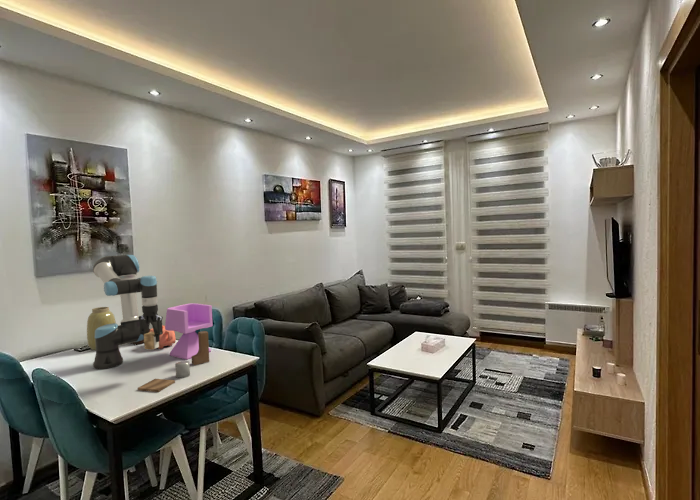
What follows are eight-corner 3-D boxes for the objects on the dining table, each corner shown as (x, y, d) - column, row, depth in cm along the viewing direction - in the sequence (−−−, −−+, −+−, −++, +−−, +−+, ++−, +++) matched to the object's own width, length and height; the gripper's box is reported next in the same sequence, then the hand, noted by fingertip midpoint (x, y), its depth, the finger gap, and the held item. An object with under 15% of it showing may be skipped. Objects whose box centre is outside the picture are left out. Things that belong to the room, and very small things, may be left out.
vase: (107, 351, 259) (105, 310, 257) (81, 351, 259) (79, 311, 258) (122, 343, 276) (120, 305, 275) (98, 343, 276) (96, 305, 275)
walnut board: (137, 390, 194) (137, 387, 194) (155, 380, 206) (155, 378, 206) (158, 392, 191) (158, 389, 191) (174, 382, 203) (174, 380, 203)
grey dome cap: (173, 377, 210) (172, 365, 209) (181, 373, 217) (180, 360, 216) (184, 378, 208) (183, 365, 208) (192, 373, 215) (192, 361, 214)
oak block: (144, 349, 211) (143, 334, 210) (151, 346, 215) (150, 331, 215) (152, 349, 209) (151, 334, 209) (159, 346, 214) (158, 332, 214)
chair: (186, 360, 236) (184, 311, 235) (166, 355, 247) (164, 308, 245) (213, 351, 253) (211, 305, 251) (194, 347, 264) (191, 302, 262)
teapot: (144, 346, 269) (143, 325, 268) (162, 341, 279) (161, 321, 278) (162, 351, 257) (161, 329, 256) (180, 346, 267) (179, 325, 266)
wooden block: (194, 365, 228) (192, 335, 227) (191, 363, 231) (190, 333, 230) (209, 361, 234) (208, 332, 233) (206, 360, 237) (205, 330, 236)
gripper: (130, 305, 209) (132, 348, 211) (159, 306, 205) (161, 350, 207) (140, 302, 217) (143, 344, 218) (169, 303, 212) (171, 346, 214)
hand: (152, 347), depth 213 cm, fingers closed on oak block, 5 cm apart
